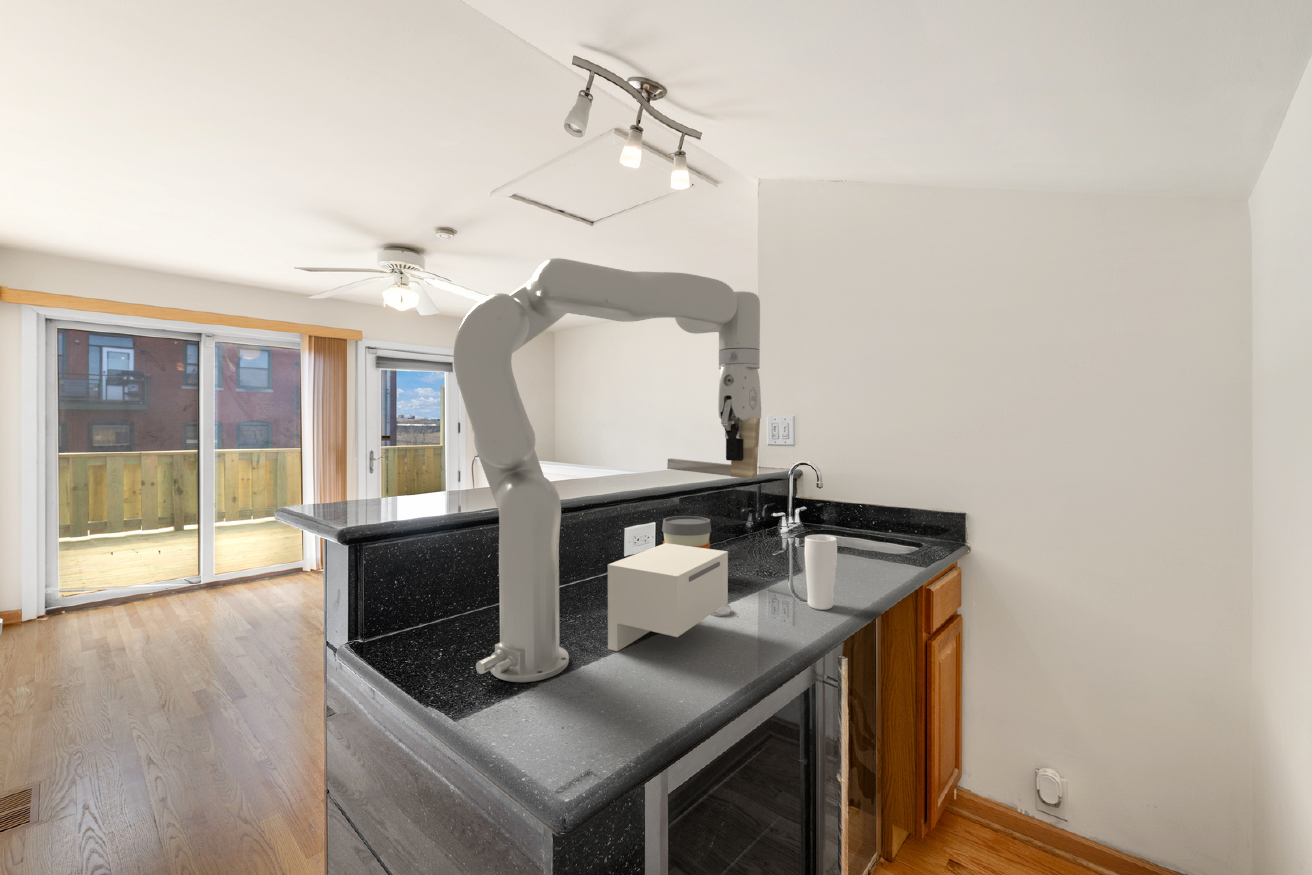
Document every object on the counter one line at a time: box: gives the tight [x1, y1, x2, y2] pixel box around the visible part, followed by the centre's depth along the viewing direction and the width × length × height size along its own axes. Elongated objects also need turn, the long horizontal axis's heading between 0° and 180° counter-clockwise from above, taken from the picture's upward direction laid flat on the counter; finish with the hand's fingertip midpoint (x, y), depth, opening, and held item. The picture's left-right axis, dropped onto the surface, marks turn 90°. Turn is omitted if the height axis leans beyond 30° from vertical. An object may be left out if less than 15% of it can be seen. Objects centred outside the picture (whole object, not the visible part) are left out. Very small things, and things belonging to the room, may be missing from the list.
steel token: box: [709, 603, 732, 617], centre depth 116 cm, size 5×5×2 cm
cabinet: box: [607, 543, 729, 652], centre depth 102 cm, size 20×14×15 cm
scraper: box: [666, 418, 761, 480], centre depth 106 cm, size 3×18×11 cm, turn 58°
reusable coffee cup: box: [661, 515, 712, 549], centre depth 141 cm, size 13×13×15 cm
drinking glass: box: [804, 534, 838, 611], centre depth 119 cm, size 7×7×15 cm
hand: (738, 458), depth 103 cm, fingers closed on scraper, 3 cm apart
